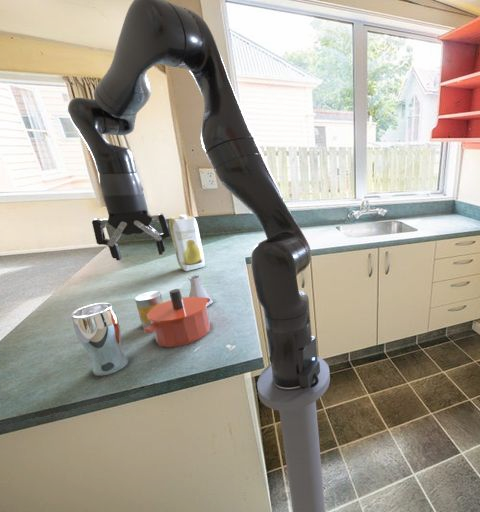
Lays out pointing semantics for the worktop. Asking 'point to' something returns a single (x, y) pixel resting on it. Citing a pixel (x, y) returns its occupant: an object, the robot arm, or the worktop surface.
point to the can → (147, 305)
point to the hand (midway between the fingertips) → (140, 256)
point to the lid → (177, 308)
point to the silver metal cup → (100, 337)
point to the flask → (198, 288)
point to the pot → (181, 329)
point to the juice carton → (187, 242)
